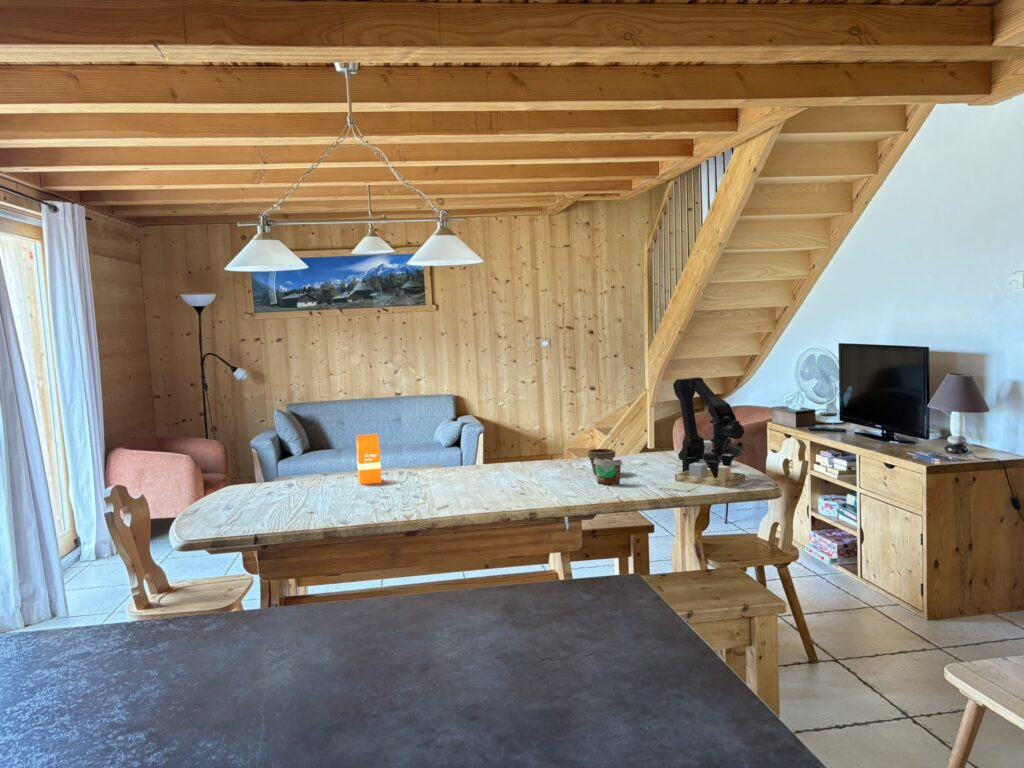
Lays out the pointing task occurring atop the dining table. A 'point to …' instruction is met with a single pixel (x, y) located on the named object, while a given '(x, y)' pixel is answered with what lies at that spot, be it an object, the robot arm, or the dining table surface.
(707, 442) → the light bulb box
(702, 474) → the blue-grey box
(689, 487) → the sage tile
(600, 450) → the flower pot
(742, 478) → the wooden tray
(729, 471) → the tan box
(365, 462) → the orange juice
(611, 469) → the food container
